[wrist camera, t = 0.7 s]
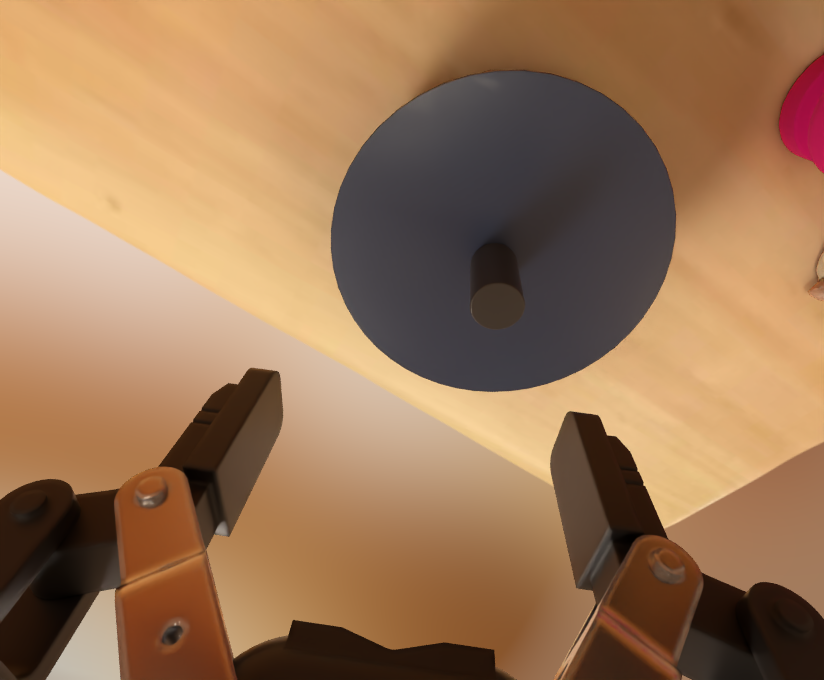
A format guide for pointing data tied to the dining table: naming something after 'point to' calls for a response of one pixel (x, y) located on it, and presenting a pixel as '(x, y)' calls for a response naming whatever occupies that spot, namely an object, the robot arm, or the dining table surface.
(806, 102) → the pepper mill
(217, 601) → the robot arm
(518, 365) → the pan lid
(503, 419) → the dining table surface
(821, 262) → the figurine
